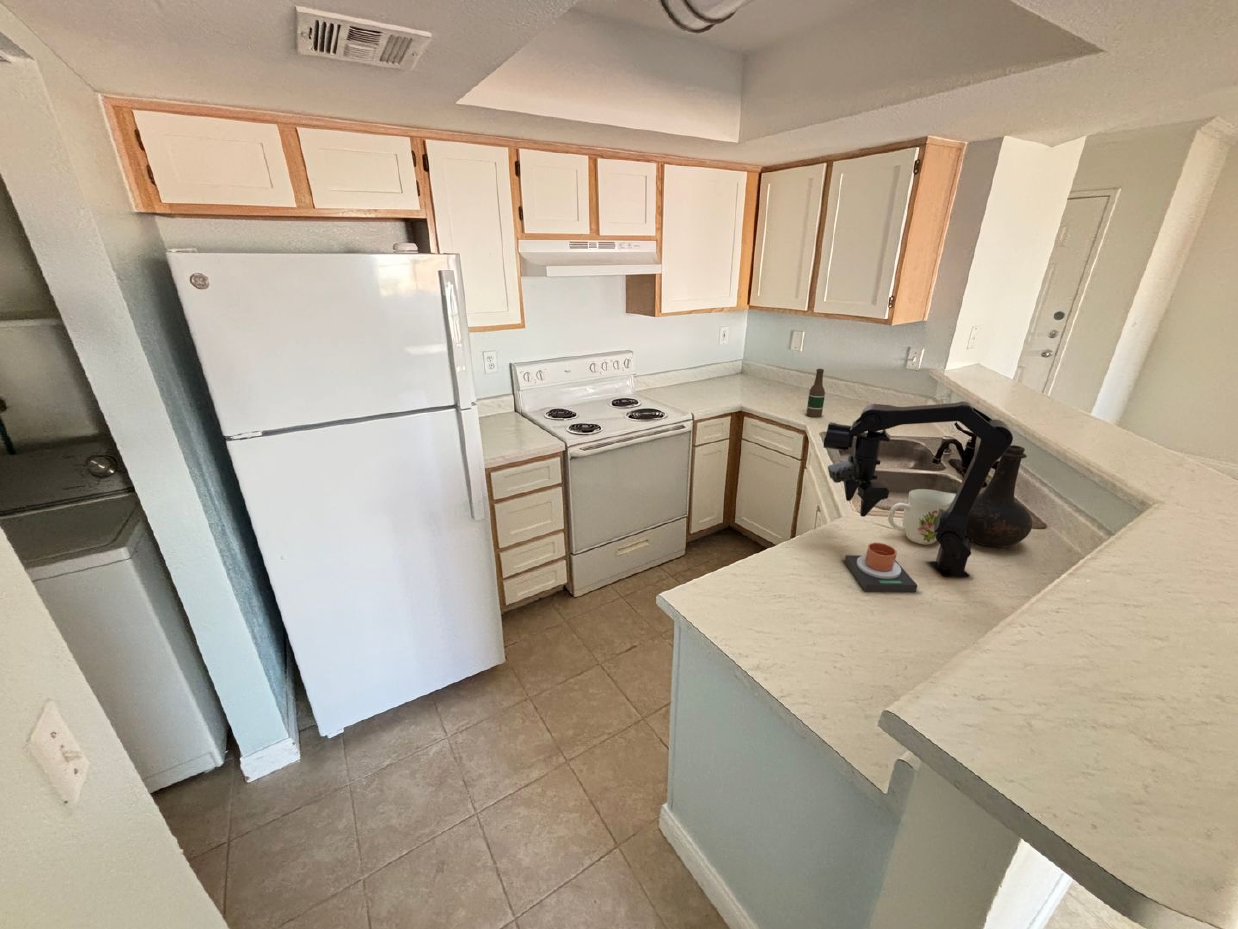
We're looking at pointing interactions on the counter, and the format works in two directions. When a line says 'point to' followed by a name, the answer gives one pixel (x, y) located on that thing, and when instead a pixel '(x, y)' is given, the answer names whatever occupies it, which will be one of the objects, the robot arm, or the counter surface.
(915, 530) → the pitcher
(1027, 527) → the dark brown vase
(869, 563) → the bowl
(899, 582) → the scale
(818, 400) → the beer bottle
